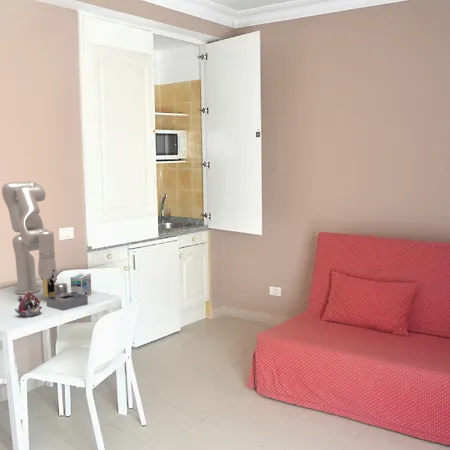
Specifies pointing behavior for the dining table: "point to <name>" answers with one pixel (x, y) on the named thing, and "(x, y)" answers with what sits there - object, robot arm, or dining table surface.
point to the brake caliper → (28, 306)
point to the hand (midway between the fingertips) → (48, 290)
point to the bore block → (67, 301)
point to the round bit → (60, 289)
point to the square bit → (45, 289)
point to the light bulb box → (81, 284)
